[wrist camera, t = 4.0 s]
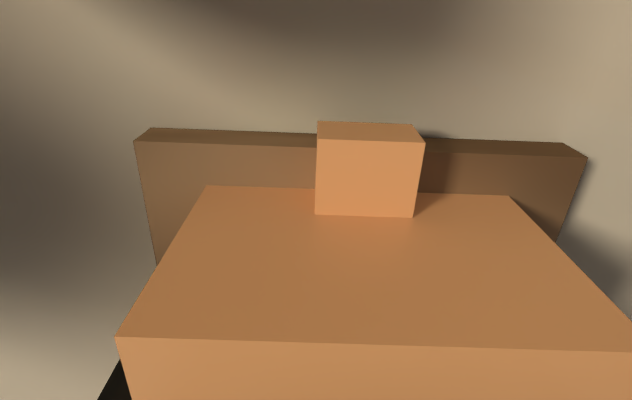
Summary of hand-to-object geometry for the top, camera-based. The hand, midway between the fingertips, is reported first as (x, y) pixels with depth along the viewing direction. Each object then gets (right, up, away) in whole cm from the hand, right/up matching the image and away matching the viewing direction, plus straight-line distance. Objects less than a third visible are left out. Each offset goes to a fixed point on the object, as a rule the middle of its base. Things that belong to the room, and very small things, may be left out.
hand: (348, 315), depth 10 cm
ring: (0, 0, 0) cm, 0 cm away
